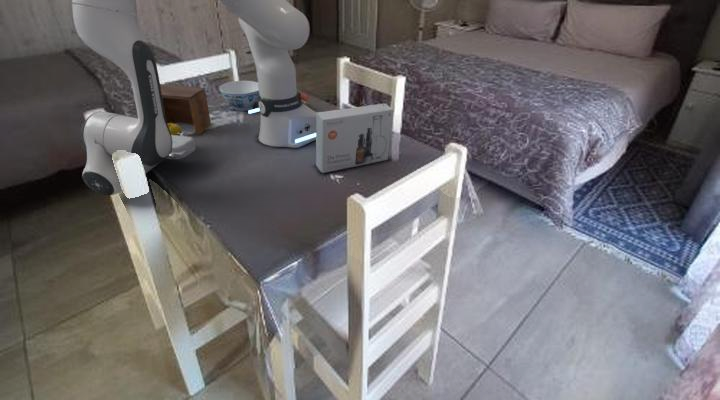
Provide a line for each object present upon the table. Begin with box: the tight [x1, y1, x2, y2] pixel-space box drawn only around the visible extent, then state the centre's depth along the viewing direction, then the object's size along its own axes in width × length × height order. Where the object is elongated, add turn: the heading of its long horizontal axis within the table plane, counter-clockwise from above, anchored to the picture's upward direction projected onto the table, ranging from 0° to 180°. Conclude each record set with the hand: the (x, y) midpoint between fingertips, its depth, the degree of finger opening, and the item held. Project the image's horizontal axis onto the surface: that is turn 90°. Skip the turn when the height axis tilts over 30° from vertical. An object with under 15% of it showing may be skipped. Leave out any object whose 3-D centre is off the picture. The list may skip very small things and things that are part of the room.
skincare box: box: [315, 103, 395, 174], centre depth 108 cm, size 21×6×16 cm, turn 117°
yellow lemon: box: [168, 122, 183, 136], centre depth 112 cm, size 6×6×8 cm
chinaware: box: [218, 80, 259, 112], centre depth 144 cm, size 15×15×8 cm
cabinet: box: [160, 83, 212, 136], centre depth 125 cm, size 9×15×12 cm, turn 81°
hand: (171, 132), depth 112 cm, fingers closed on yellow lemon, 6 cm apart
